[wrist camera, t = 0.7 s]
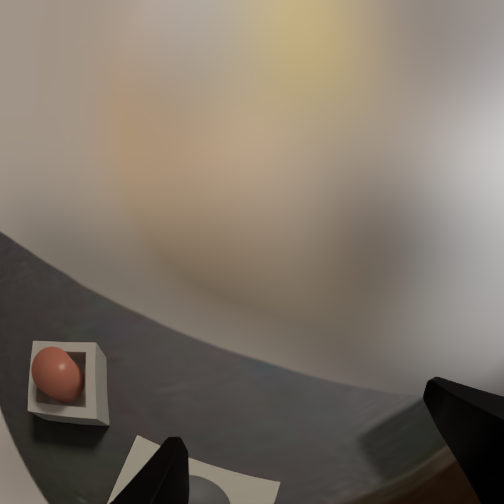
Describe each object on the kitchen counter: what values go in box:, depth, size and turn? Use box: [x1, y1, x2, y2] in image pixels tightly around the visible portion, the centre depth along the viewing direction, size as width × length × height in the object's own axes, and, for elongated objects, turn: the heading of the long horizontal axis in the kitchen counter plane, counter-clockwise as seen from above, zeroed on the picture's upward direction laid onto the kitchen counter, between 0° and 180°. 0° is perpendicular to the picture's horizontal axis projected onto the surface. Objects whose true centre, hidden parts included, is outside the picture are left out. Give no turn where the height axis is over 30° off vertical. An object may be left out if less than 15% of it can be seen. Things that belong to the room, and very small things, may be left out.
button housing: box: [28, 341, 110, 426], centre depth 15 cm, size 6×6×3 cm
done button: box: [31, 347, 84, 403], centre depth 14 cm, size 4×4×2 cm
